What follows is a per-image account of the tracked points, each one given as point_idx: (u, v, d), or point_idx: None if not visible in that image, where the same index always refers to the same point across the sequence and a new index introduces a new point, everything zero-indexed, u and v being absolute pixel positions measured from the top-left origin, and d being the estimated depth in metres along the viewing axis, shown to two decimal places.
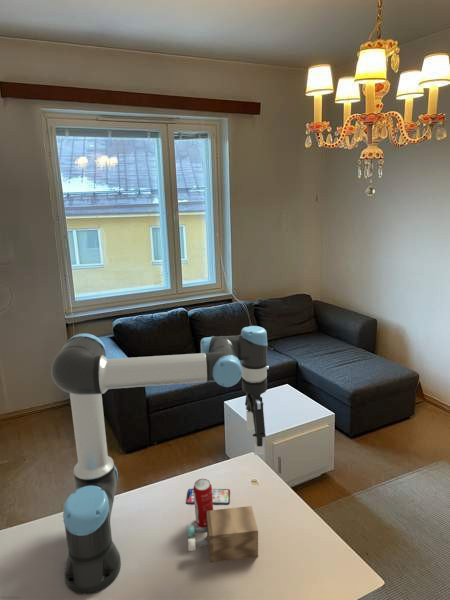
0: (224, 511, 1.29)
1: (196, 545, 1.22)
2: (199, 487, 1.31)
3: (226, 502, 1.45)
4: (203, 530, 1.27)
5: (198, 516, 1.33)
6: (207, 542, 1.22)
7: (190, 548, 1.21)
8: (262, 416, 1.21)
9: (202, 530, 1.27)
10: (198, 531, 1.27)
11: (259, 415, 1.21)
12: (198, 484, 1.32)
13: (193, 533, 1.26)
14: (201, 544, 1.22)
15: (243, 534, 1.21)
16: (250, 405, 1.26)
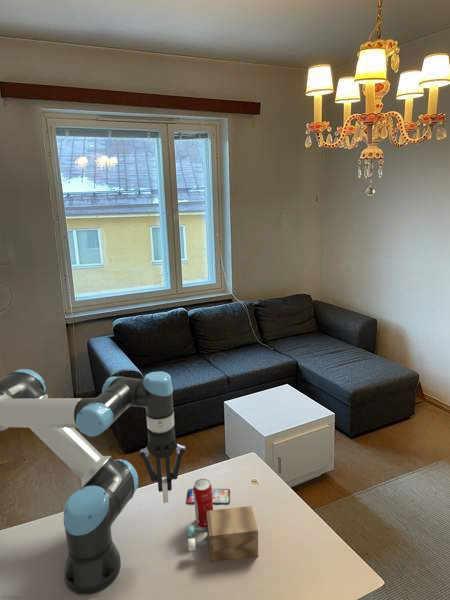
0: (224, 511, 1.29)
1: (196, 545, 1.22)
2: (199, 487, 1.31)
3: (226, 502, 1.45)
4: (203, 530, 1.27)
5: (198, 516, 1.33)
6: (207, 542, 1.22)
7: (190, 548, 1.21)
8: None
9: (202, 530, 1.27)
10: (198, 531, 1.27)
11: None
12: (198, 484, 1.32)
13: (193, 533, 1.26)
14: (201, 544, 1.22)
15: (243, 534, 1.21)
16: None
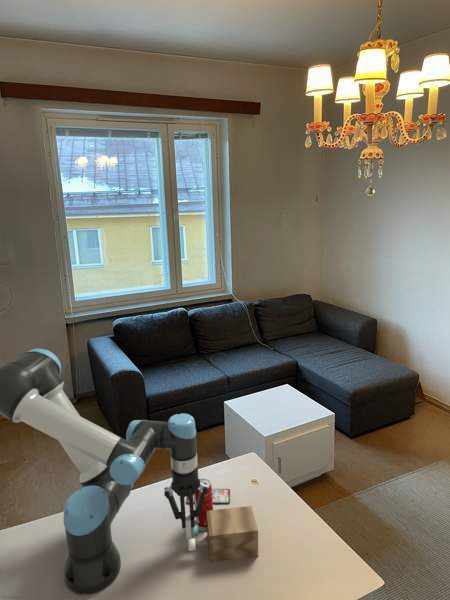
0: (224, 511, 1.29)
1: (196, 545, 1.22)
2: None
3: (226, 502, 1.45)
4: (207, 530, 1.27)
5: None
6: (207, 542, 1.22)
7: (190, 548, 1.21)
8: (170, 503, 1.23)
9: (206, 530, 1.27)
10: (202, 531, 1.27)
11: None
12: None
13: (197, 533, 1.26)
14: (201, 544, 1.22)
15: (243, 534, 1.21)
16: None
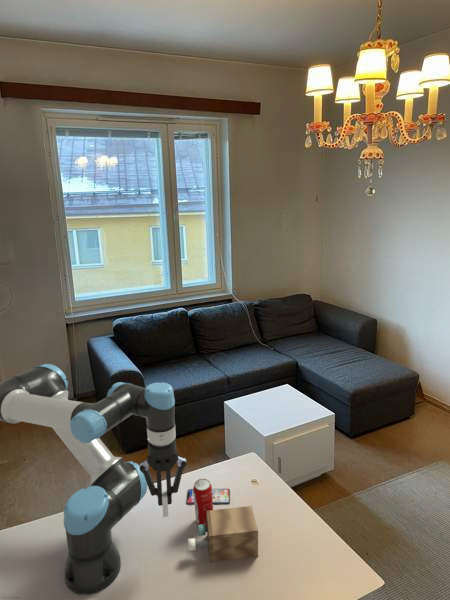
0: (224, 511, 1.29)
1: (196, 545, 1.22)
2: (199, 487, 1.31)
3: (226, 502, 1.45)
4: None
5: (198, 516, 1.33)
6: (207, 542, 1.22)
7: (190, 548, 1.21)
8: (145, 478, 1.15)
9: None
10: None
11: None
12: (198, 484, 1.32)
13: (204, 532, 1.26)
14: (201, 544, 1.22)
15: (243, 534, 1.21)
16: None
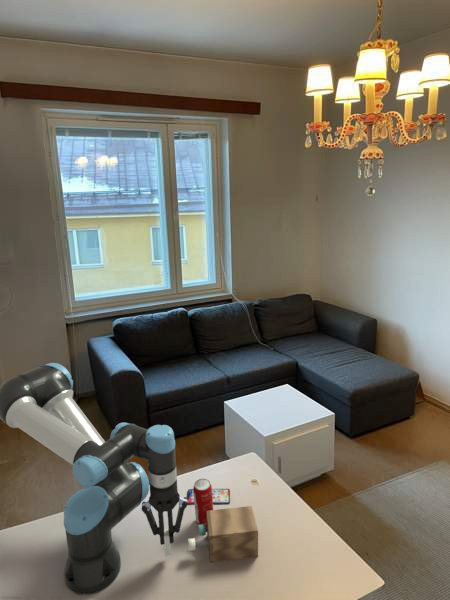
0: (224, 511, 1.29)
1: (196, 545, 1.22)
2: (199, 487, 1.31)
3: (226, 502, 1.45)
4: None
5: (198, 516, 1.33)
6: (207, 542, 1.22)
7: (190, 548, 1.21)
8: None
9: None
10: None
11: None
12: (198, 484, 1.32)
13: (204, 532, 1.26)
14: (201, 544, 1.22)
15: (243, 534, 1.21)
16: None
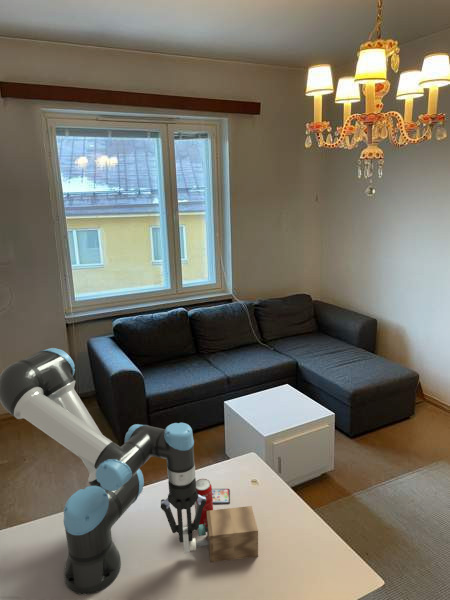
0: (224, 511, 1.29)
1: (197, 545, 1.22)
2: (199, 487, 1.31)
3: (226, 502, 1.45)
4: None
5: None
6: (208, 542, 1.22)
7: (191, 548, 1.21)
8: None
9: None
10: None
11: None
12: (198, 484, 1.32)
13: (204, 532, 1.26)
14: (202, 544, 1.22)
15: (243, 534, 1.21)
16: None
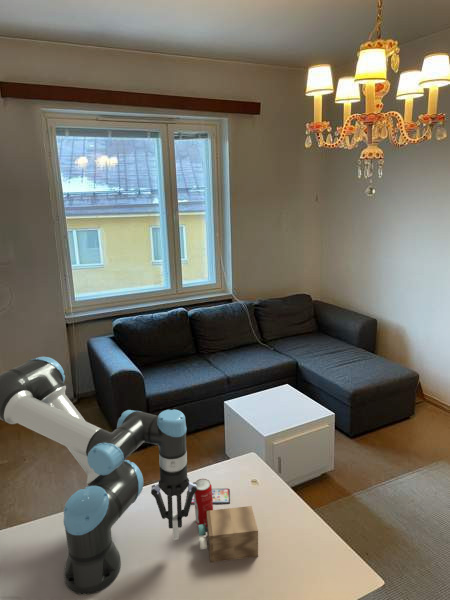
0: (224, 511, 1.29)
1: (207, 544, 1.22)
2: (199, 487, 1.31)
3: (226, 501, 1.45)
4: None
5: (198, 516, 1.33)
6: None
7: (202, 547, 1.21)
8: None
9: None
10: None
11: None
12: (198, 484, 1.32)
13: (204, 532, 1.26)
14: None
15: (243, 534, 1.21)
16: None
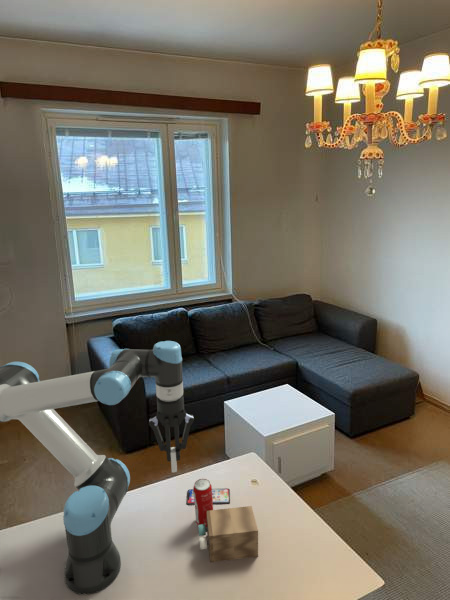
0: (224, 511, 1.29)
1: (207, 544, 1.22)
2: (199, 487, 1.31)
3: (226, 501, 1.45)
4: None
5: (198, 516, 1.33)
6: None
7: (202, 547, 1.21)
8: (154, 433, 1.20)
9: None
10: None
11: None
12: (198, 484, 1.32)
13: (204, 532, 1.26)
14: None
15: (243, 534, 1.21)
16: None
